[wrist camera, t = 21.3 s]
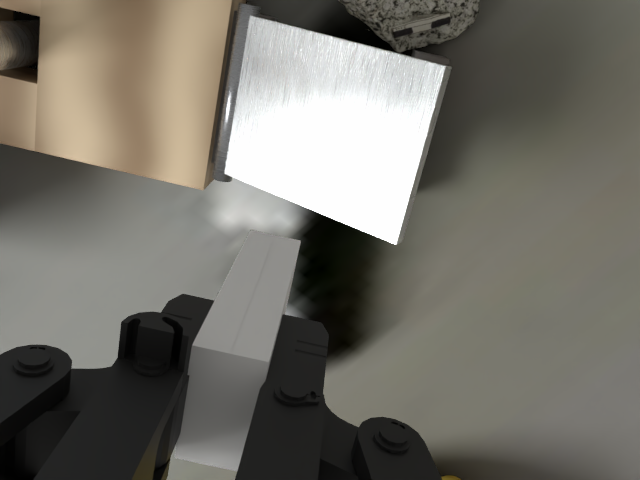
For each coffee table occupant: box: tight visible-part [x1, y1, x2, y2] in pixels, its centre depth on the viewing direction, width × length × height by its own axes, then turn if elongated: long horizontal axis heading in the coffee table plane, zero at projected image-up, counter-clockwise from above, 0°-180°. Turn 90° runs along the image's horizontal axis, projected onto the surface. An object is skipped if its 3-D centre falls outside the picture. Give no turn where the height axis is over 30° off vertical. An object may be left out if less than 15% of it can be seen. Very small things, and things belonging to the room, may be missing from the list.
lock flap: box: [212, 3, 452, 244], centre depth 33 cm, size 1×10×13 cm
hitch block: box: [0, 0, 450, 190], centre depth 37 cm, size 30×12×4 cm, turn 78°
